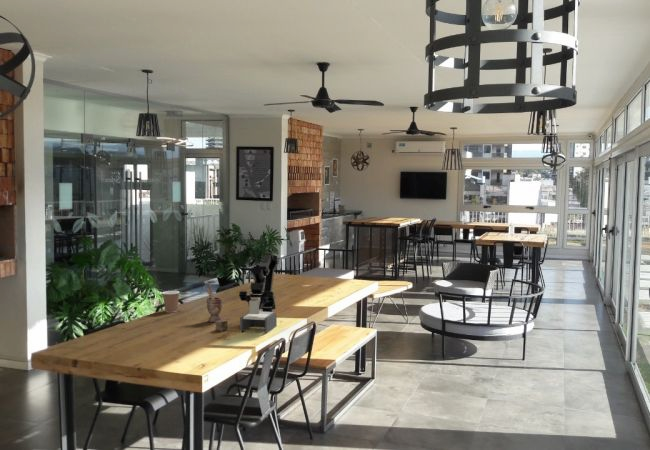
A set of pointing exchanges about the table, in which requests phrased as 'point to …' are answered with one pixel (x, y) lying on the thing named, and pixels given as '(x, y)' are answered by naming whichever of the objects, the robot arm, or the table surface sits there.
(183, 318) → the table surface
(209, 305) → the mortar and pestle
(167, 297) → the coffee cup
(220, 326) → the stand
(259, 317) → the trapdoor
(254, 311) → the grey rectangular block
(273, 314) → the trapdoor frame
